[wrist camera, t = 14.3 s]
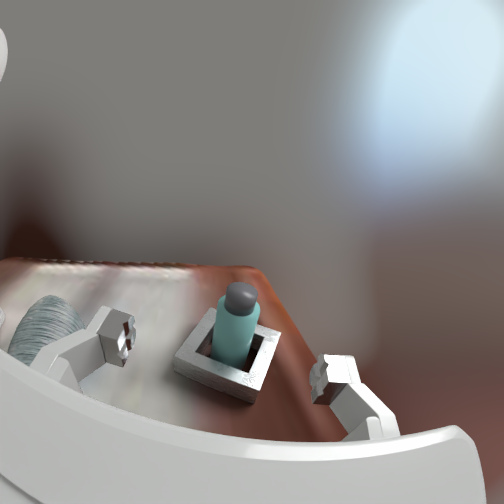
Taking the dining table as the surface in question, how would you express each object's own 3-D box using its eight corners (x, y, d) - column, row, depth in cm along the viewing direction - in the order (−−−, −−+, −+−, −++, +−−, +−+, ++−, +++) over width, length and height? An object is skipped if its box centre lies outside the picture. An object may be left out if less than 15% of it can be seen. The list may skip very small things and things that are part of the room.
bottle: (204, 365, 31) (212, 295, 26) (217, 342, 35) (229, 274, 30) (238, 378, 30) (257, 311, 25) (249, 354, 34) (268, 287, 29)
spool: (76, 425, 17) (11, 332, 14) (24, 422, 17) (-28, 345, 14) (117, 348, 30) (81, 277, 27) (68, 359, 30) (34, 297, 27)
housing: (174, 371, 29) (173, 355, 28) (208, 323, 38) (210, 307, 37) (253, 403, 27) (259, 390, 26) (275, 347, 36) (280, 332, 35)
